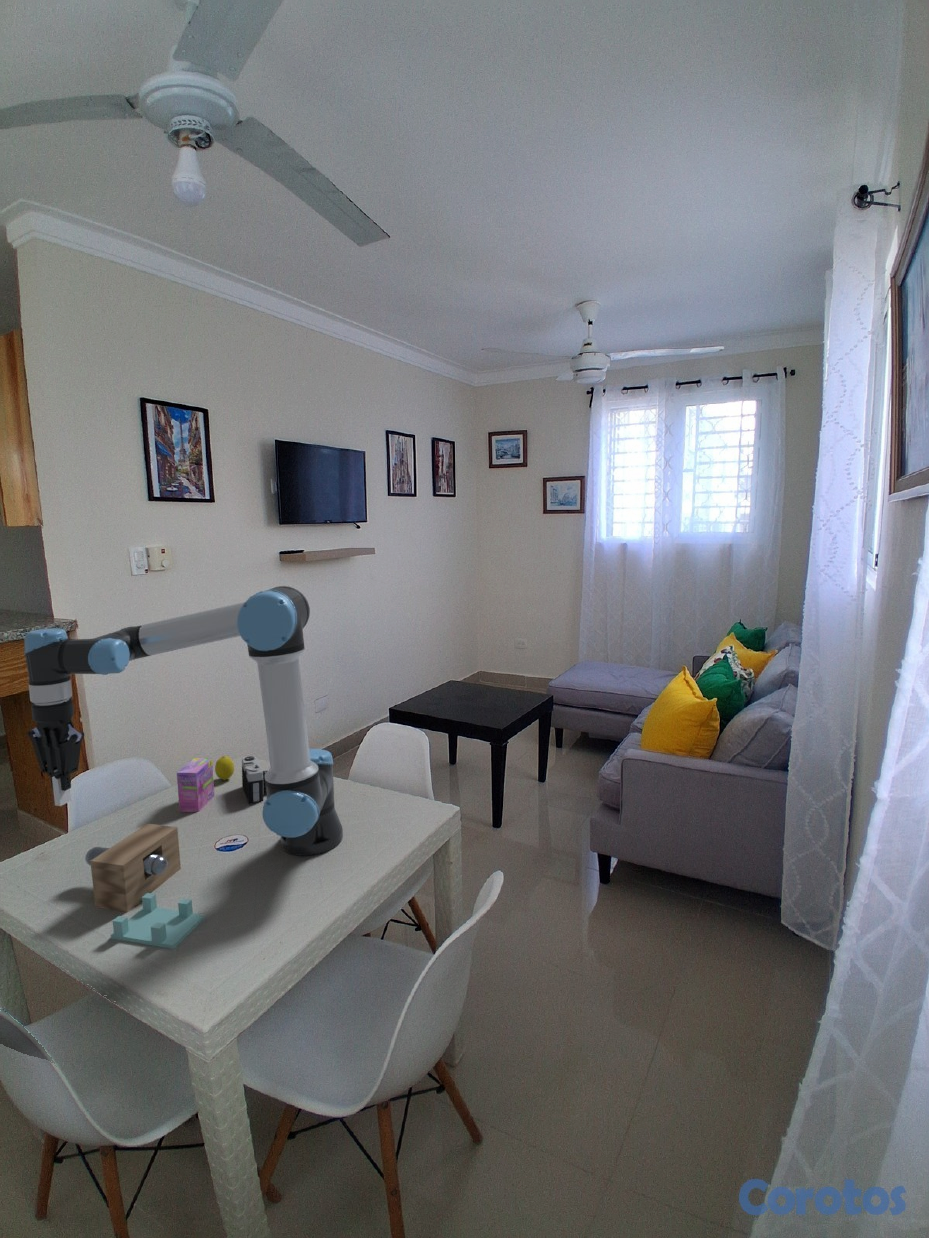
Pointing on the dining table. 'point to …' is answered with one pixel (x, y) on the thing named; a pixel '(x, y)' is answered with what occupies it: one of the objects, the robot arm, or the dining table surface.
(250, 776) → the camera
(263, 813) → the robot arm
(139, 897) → the beam
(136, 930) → the cradle
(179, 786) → the box
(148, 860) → the axle
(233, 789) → the dining table surface
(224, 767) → the lemon
